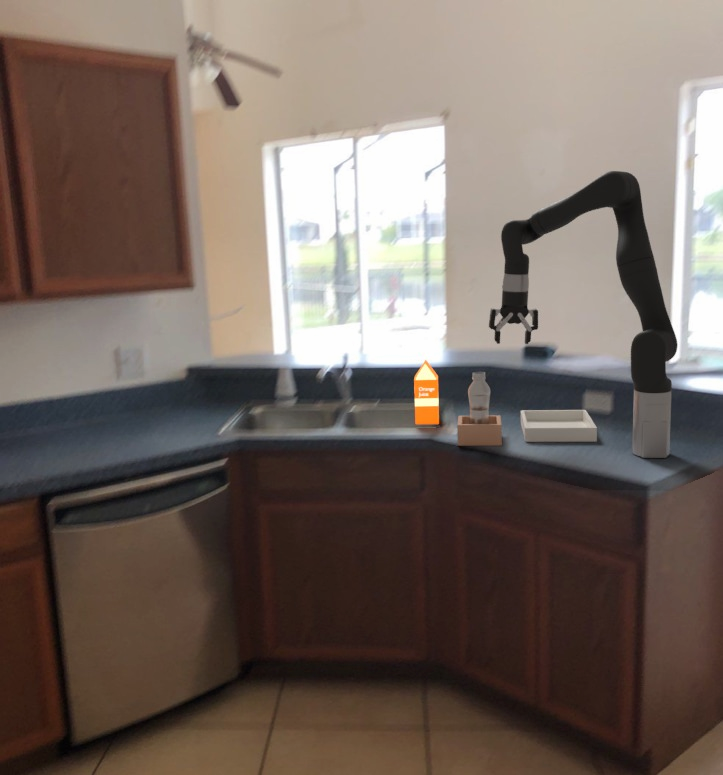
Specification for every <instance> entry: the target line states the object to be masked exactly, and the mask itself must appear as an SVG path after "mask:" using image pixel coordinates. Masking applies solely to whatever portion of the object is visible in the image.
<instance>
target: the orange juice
mask: <svg viewBox="0 0 723 775" xmlns="http://www.w3.org/2000/svg"><path fill="white" fill-rule="evenodd" d="M413 383H414V385H413V386H414V387H413V389H414V417H415V418H414V420H415V425H439V424H440V414H439V413H440V412H439V410H440V407H439V404H440V403H439V375H438V374H437V373H436V371H435V370H434V369H433V367H432V366H431V364H430V363H429V362H428V360H427V359H425V360H424V362H423V363H422V365H421V366H420V367H419V369H418V371H417V372H416V374H415V375H414V379H413Z"/></svg>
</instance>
